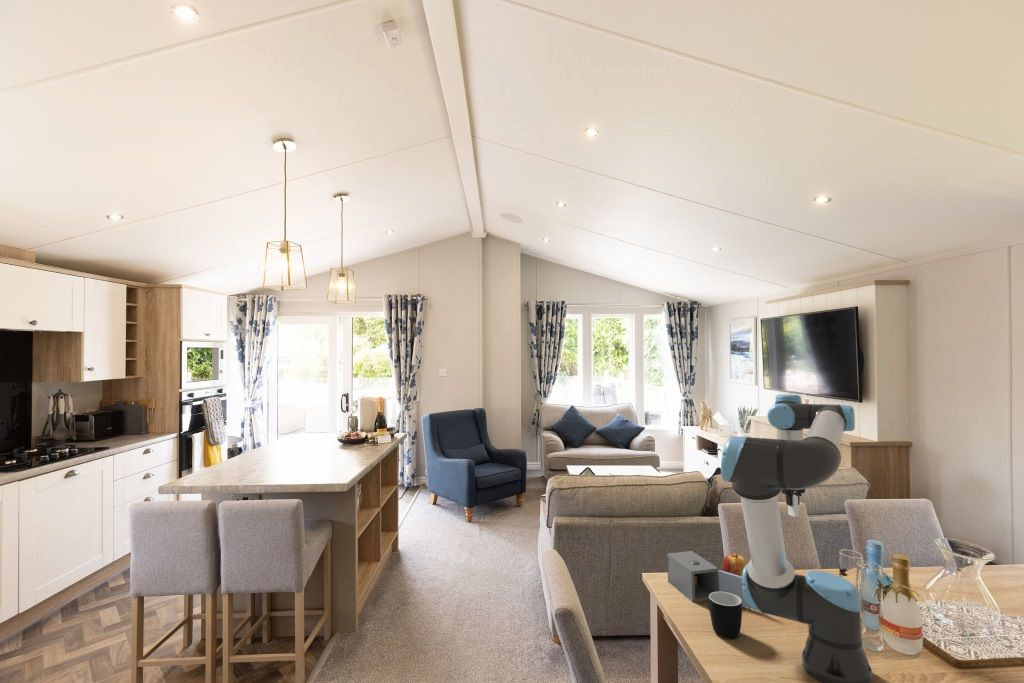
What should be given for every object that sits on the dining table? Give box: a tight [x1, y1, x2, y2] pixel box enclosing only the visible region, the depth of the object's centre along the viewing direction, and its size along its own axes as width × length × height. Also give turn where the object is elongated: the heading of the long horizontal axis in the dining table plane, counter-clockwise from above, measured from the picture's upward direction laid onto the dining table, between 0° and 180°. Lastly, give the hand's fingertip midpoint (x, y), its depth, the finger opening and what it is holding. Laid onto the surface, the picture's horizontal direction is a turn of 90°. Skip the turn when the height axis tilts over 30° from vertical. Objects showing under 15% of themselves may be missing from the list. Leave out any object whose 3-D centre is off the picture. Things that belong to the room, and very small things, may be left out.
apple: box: [721, 553, 749, 577], centre depth 180 cm, size 9×9×10 cm
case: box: [666, 550, 719, 603], centre depth 175 cm, size 16×10×10 cm, turn 12°
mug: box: [707, 592, 743, 640], centre depth 148 cm, size 12×9×10 cm
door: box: [718, 569, 752, 609], centre depth 164 cm, size 2×10×9 cm, turn 42°
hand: (793, 515), depth 161 cm, fingers closed
